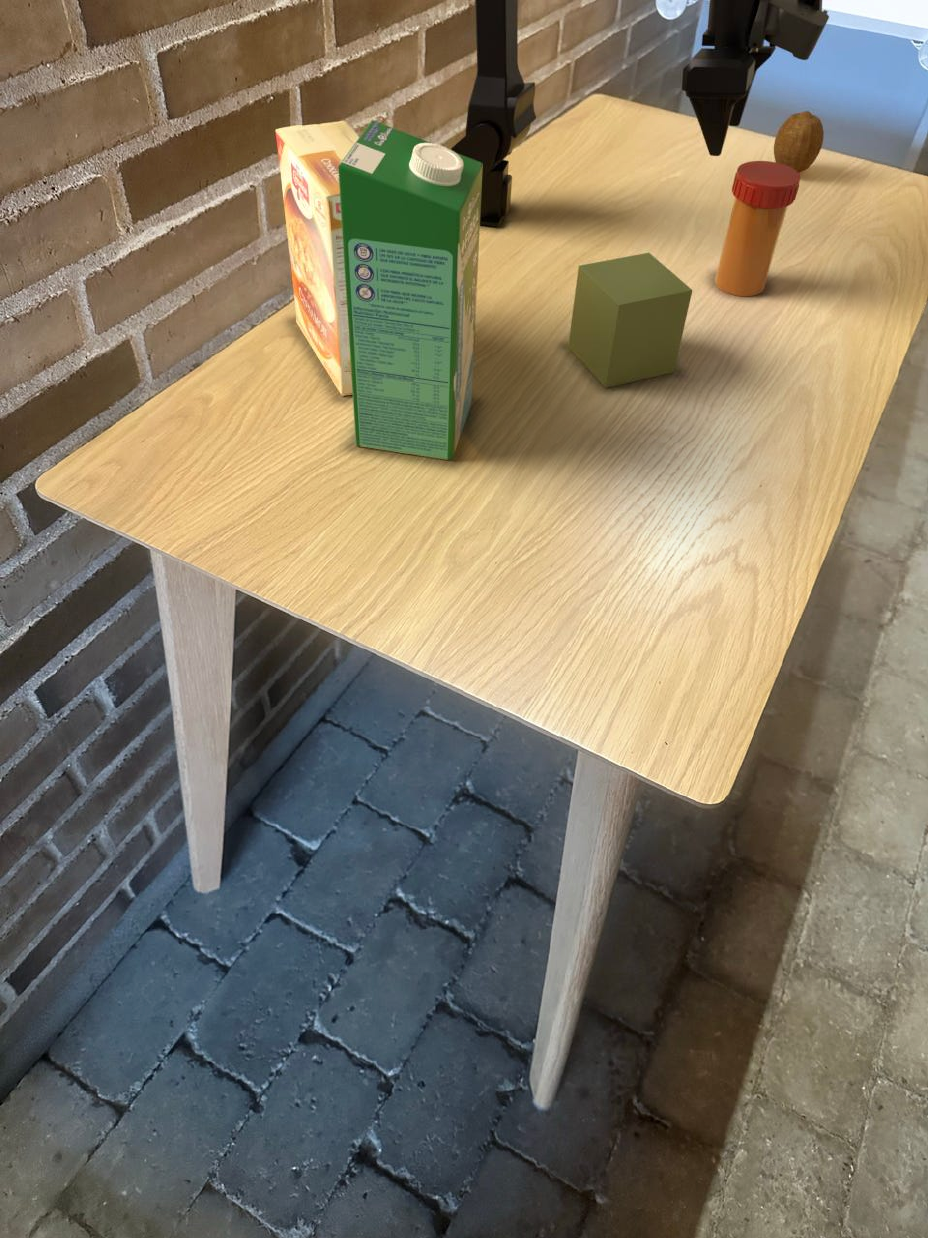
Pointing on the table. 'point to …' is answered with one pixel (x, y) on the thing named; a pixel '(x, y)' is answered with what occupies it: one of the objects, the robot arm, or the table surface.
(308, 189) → the coffeecake box
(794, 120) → the fruit
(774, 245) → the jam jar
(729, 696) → the table surface
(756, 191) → the lid
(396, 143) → the milk carton
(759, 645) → the table surface
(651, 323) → the tea box
